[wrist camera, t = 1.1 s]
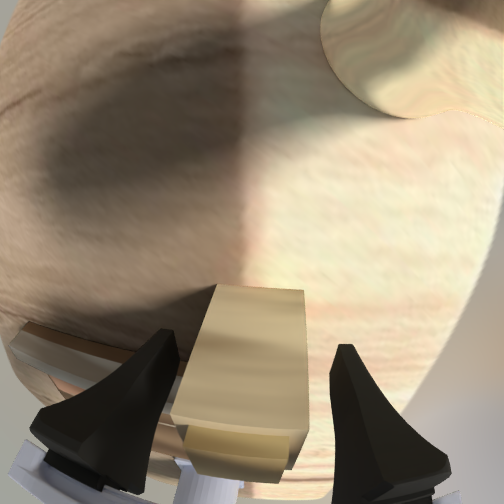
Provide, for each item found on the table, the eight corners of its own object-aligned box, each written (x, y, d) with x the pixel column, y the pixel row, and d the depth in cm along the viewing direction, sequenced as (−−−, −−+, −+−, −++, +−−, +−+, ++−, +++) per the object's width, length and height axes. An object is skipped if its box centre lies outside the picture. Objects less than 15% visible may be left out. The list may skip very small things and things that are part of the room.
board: (282, 461, 23) (280, 487, 20) (92, 421, 25) (83, 441, 22) (307, 373, 15) (308, 418, 13) (29, 321, 17) (8, 345, 15)
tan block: (294, 349, 15) (290, 486, 8) (221, 343, 15) (187, 474, 8) (303, 290, 13) (309, 453, 6) (217, 284, 13) (162, 435, 6)
